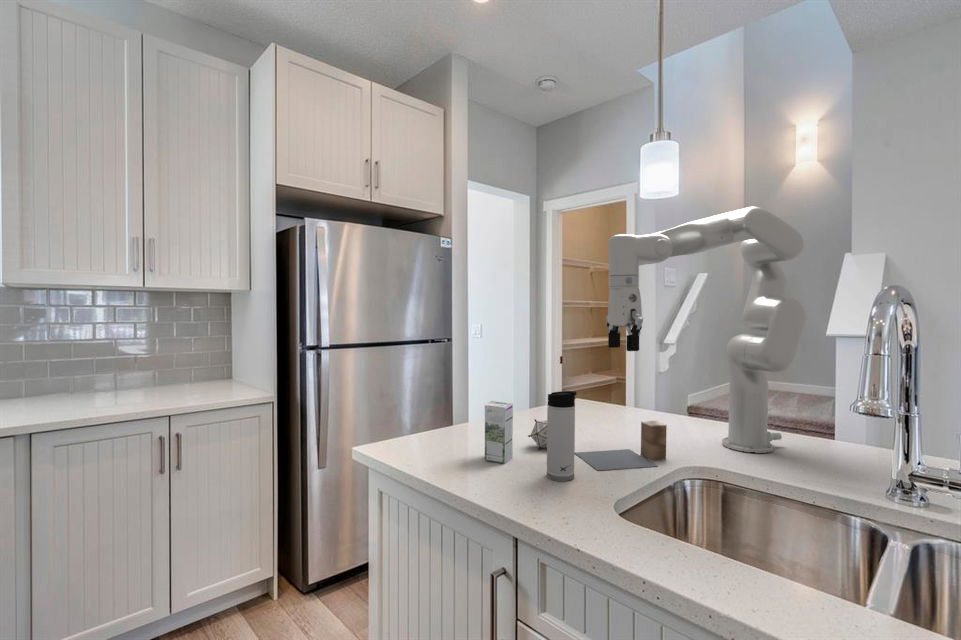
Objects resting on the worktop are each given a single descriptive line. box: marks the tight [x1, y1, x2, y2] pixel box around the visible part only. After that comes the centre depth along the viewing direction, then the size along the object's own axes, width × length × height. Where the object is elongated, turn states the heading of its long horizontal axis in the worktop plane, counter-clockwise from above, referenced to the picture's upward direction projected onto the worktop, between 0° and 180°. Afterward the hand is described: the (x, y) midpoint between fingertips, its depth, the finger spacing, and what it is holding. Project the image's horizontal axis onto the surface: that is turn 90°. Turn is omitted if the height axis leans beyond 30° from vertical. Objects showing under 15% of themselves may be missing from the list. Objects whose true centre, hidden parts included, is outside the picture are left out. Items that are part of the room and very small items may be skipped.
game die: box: [527, 418, 547, 451], centre depth 135 cm, size 9×8×10 cm
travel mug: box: [546, 390, 578, 482], centre depth 112 cm, size 6×7×20 cm
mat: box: [574, 448, 659, 472], centre depth 125 cm, size 16×14×1 cm
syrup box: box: [484, 400, 514, 464], centre depth 125 cm, size 6×6×14 cm
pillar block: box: [640, 420, 668, 462], centre depth 127 cm, size 4×4×9 cm
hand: (623, 349), depth 127 cm, fingers open, 9 cm apart
